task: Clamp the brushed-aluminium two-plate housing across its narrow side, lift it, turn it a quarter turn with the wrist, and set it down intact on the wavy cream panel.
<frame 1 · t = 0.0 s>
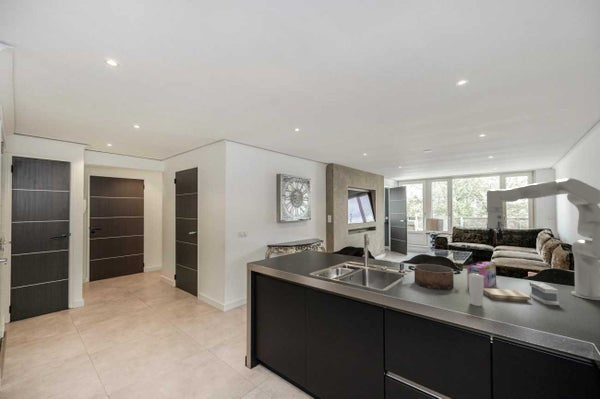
hand: (495, 238, 153), 31 cm above the table, tool pointing down, fingers open, 9 cm apart
gum box: (482, 285, 163), on the table
cooking pot: (433, 285, 165), on the table
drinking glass: (476, 304, 132), on the table
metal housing: (543, 300, 137), on the table
wavy cream panel: (505, 297, 141), on the table
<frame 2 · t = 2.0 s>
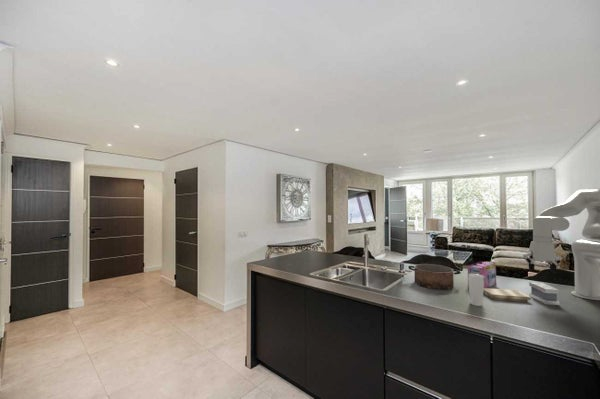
hand: (542, 271, 137), 16 cm above the table, tool pointing down, fingers open, 9 cm apart
nothing on the table moved.
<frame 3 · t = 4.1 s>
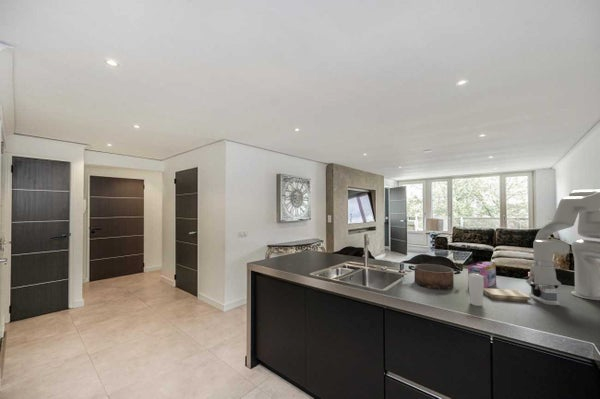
hand: (543, 296, 137), 2 cm above the table, tool pointing down, fingers closed on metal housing, 6 cm apart
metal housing: (543, 300, 137), on the table, touching gripper
everything else where it was.
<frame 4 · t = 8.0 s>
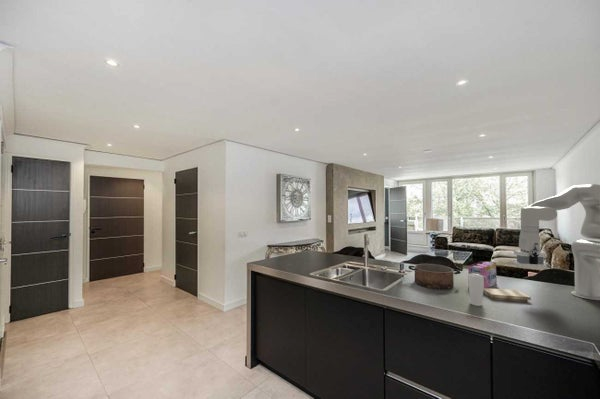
hand: (529, 262, 139), 20 cm above the table, tool pointing down, fingers closed on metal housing, 6 cm apart
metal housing: (529, 266, 139), point 18 cm above the table, touching gripper
everything else where it was.
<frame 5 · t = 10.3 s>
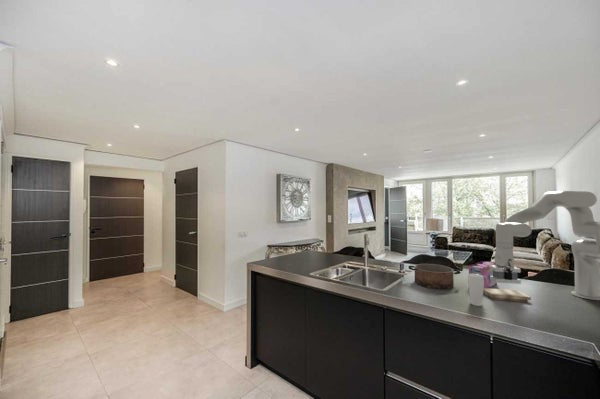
hand: (504, 277, 141), 11 cm above the table, tool pointing down, fingers closed on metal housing, 6 cm apart
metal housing: (504, 281, 141), point 9 cm above the table, touching gripper
everything else where it was.
when the fingers open (6 cm above the table, at t = 12.1 s): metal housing drops 1 cm, resting on wavy cream panel.
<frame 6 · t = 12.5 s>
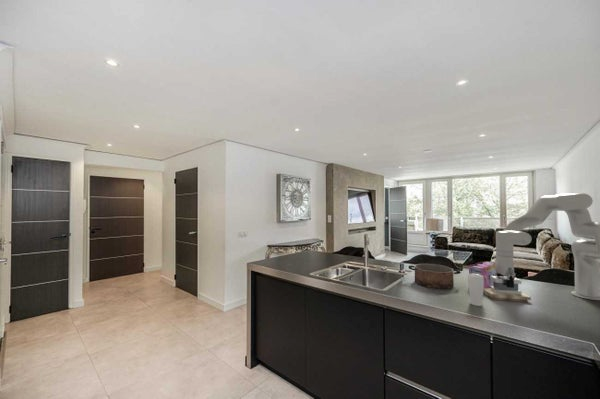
hand: (505, 284, 141), 7 cm above the table, tool pointing down, fingers open, 9 cm apart
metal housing: (505, 292, 141), point 3 cm above the table, touching wavy cream panel
everything else where it was.
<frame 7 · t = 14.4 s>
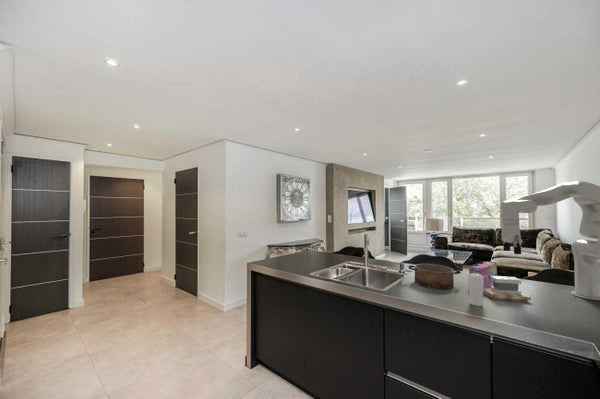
hand: (512, 252, 145), 24 cm above the table, tool pointing down, fingers open, 9 cm apart
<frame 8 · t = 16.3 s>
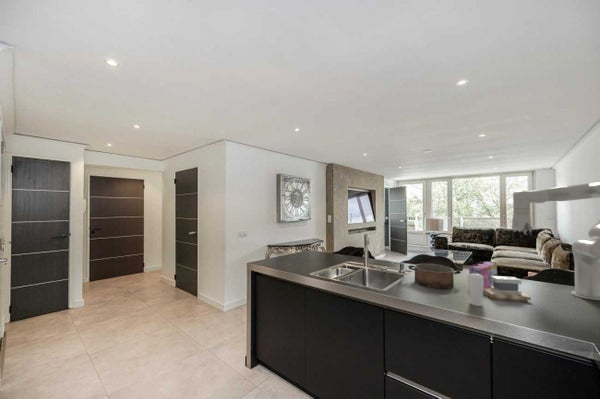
hand: (522, 240, 152), 30 cm above the table, tool pointing down, fingers open, 9 cm apart
at the end: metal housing 0.2 cm off-centre on the wavy cream panel, point 3.0 cm above the wavy cream panel's base; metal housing tilted 0°; the gripper is holding nothing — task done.
